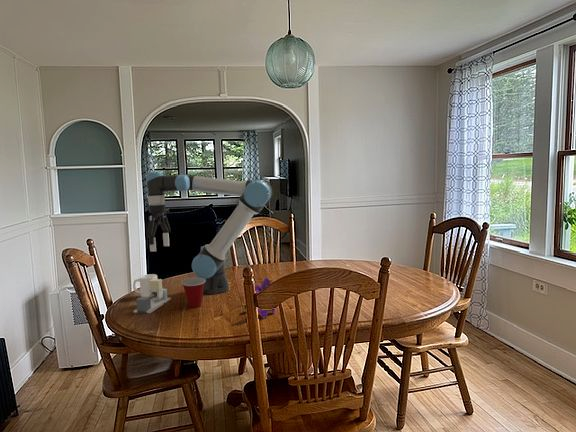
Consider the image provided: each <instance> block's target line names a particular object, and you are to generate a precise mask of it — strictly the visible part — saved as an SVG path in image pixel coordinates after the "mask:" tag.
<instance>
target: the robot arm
mask: <svg viewBox="0 0 576 432" xmlns="http://www.w3.org/2000/svg"><path fill="white" fill-rule="evenodd" d="M184 191H185V192H186V191H190V192H201V193H208V194H216V195H217V194H218V195H223V196H224V195H226V196H232V197H239V198H238V205H237V206H236V207H235V209H234V210H233V212H232V213H231V215H230V216H229V217H228V218H227V220H226V221H225V223H224V224H223V225H222V227H221V228H220V229H219V231H218V232H217V233H216V235H215V237H214V238H213V239H212V240H211V242H210V243H209V244H205V245H203V246H200V252H199V253H198V254H197V255H196V256H194V258H193V260H192V262H191V269H192V273H194V275H195V276H197V277H201V278H204V279H205V280H206V281H205V283H204V289H203V294H206V295H214V294H215V295H216V294H223V293H225V292H228V291H229V290H230V283H229V281H228V278H227V276H226V263H225V261H226V253H227V252H228V251H229V249H230V248H231V247H232V245H233V244H234V242H236V240H237V238H239V236H240V234H241V233H242V232H243V230H244V229H245V228H246V226H247V225H248V223H249V222H250V221H251V219H252V218H253V217H254V215H259V214H260V213H261V211H262V210H263V209H264V207H265V206H266V204H267V203H269V201H270V200H271V199H272V197H273V194H274V193H273V188H272V185H271V184H270V183H269V182H268V181H266V180H264V179H263V180H262V179H256V180H249V179H246V180H245V181H242V180H241V181H240V180H234V179H233V180H232V179H224V178H214V177H207V176H199V175H198V176H197V175H191V174H190V175H189V174H171V175H170V174H169V175H164V173H163V171H149V172H147V173H146V192H147V202H148V213H149V214H151V215H148V219H147V220H148V221H147V228H146V233H145V234H146V235H145V237H146V239H147V238H148V239H149V240H148V241H149V251H150V252H157V241H156V237H155V235H156V232H157V228H158V226H160V228H161V230H162V232H163V233H162V241H163V243H162V244H163V247H170V236H169V233H171V232H172V231H171V226H170V222H169V220H168V217H167V216H168V215H167V213H166V205H165V202H166V198H165V192H184Z"/></svg>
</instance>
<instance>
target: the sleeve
mask: <svg viewBox="0 0 576 432" xmlns="http://www.w3.org/2000/svg"><path fill="white" fill-rule="evenodd" d="M149 284H150V295H151V294H153V293H155V292H157V296H155V297H154V298H152V299H151V300H160V299H161V298H163V289H164V288H163V279H161V278H157V279H152V280H150V281H149Z"/></svg>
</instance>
